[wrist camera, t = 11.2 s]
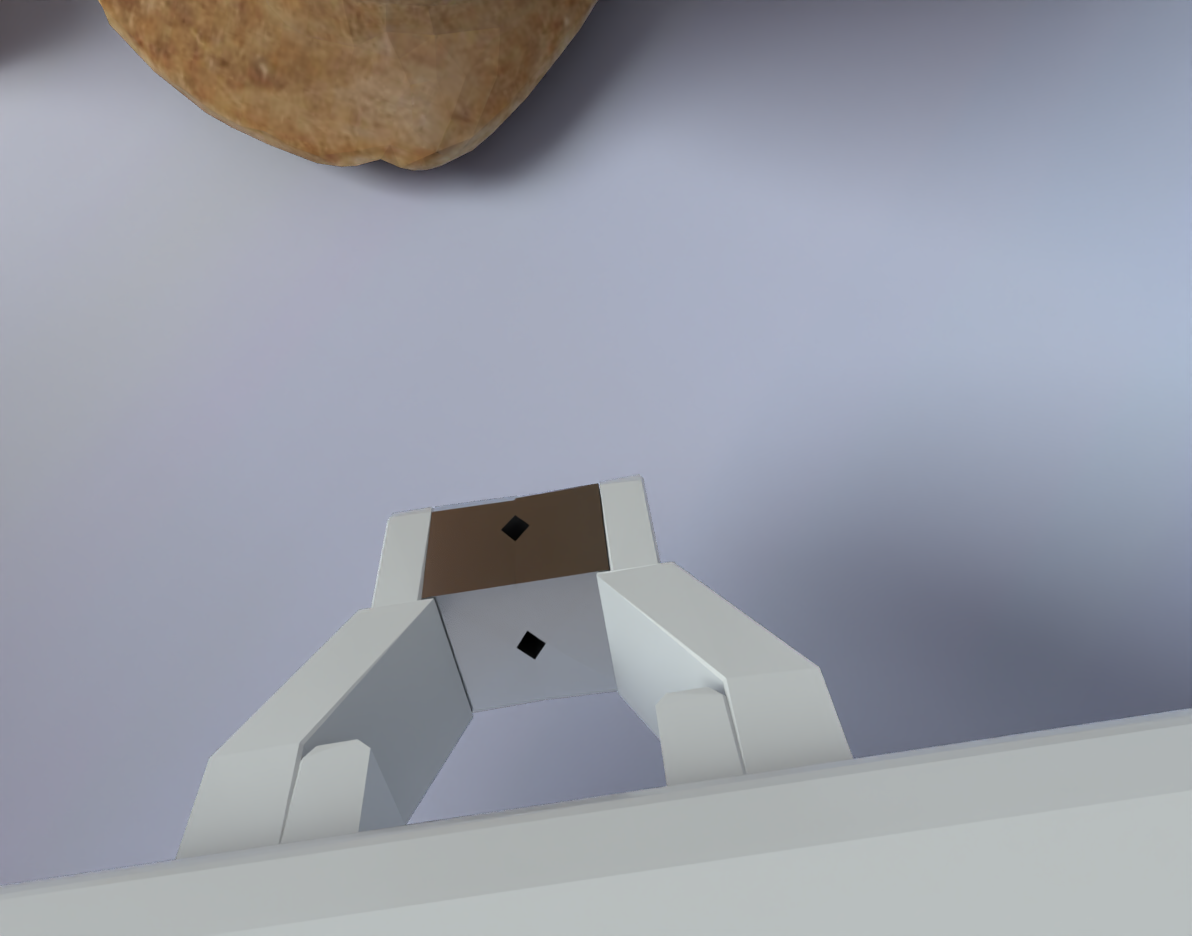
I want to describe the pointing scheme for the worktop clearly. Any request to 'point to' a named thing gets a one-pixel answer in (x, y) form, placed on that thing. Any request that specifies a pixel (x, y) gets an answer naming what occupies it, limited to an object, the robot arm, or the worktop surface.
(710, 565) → the worktop surface
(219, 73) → the brown boot
